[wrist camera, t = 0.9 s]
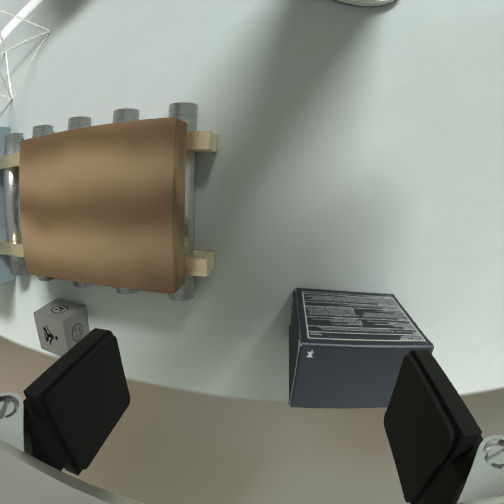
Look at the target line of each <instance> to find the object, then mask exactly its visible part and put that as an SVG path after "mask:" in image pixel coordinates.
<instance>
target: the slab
mask: <svg viewBox="0 0 504 504" xmlns="http://www.w3.org/2000/svg"><path fill="white" fill-rule="evenodd" d="M187 126H188V123H186V122H184V121H182V120H180V119H178V118H176V117H171V118H157V119H146V120H136V121H127V122H119V123H111V124H104V125H97V126H91V127H85V128H79V129H73V130H68V131H63V132H58V133H53V134H48V135H44V136H39V137H35V138H31V139H27V140H23V141H20V161H19V198H20V219H21V232H22V243H23V252H24V260H25V267H26V273H29V274H35V275H41V276H47V277H53V278H59V279H65V280H71V281H78V282H84V283H91V284H98V285H105V286H112V287H120V288H127V289H135V290H143V291H151V292H160V293H169V294H175V293H176V292H177V291H178V290H179V289H180V287H181V286H182V285H183V284H184V283H185V173H186V146H187Z"/></svg>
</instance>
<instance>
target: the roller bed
mask: <svg viewBox="0 0 504 504" xmlns="http://www.w3.org/2000/svg"><path fill="white" fill-rule="evenodd" d="M197 110H198V105H196V104H193V103H173V104H170V105H169V118H171V117H176V118H178V119H180V120H182V121H184V122H186V123H188V126H187V146H186V173H185V283H184V284H183V285H182V286H181V287H180V289H179V290H178V291H177V292H176V293H175V294H169V293H168V297H169V298H170V299H172V300H176V301H185V300H189V299H192V298H193V297H194V276H204V277H207V276H208V275H209V273H210V272H211V271H212V270H213V268H214V251H204V250H194V177H195V152H217V143H218V135H217V134H215V133H213V132H212V131H196V128H197ZM136 120H139V110H137V109H118V110H115V111H114V113H113V123H119V122H127V121H136ZM85 127H91V118H90V117H72V118H69V119H68V130H73V129H79V128H85ZM52 132H53V126H52V125H39V126H35V127H33V133H32V138H35V137H39V136H44V135H48V134H52ZM22 137H23V134H22V133H12V134H7V135H5V144H4V156H1V157H0V170H3V190H4V215H5V229H6V239H4V240H0V254H3V255H8V256H9V263H10V270H11V274H12V275H22V274H25V273H26V267H25V260H24V252H23V243H22V232H21V219H20V198H19V161H20V141H22ZM38 279H39V280H41V281H48V280H52V279H55V278H53V277H47V276H41V275H38ZM72 282H73V285H74V286H76V287H86V286H90V285H92V284H91V283H84V282H78V281H72ZM115 288H116V292H118V293H121V294H131V293H135V292H137V291H139V290H135V289H127V288H120V287H115Z"/></svg>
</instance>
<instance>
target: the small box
mask: <svg viewBox="0 0 504 504" xmlns="http://www.w3.org/2000/svg"><path fill="white" fill-rule="evenodd" d="M293 299H294V301H293V307H292V317H291V325H290V327H289V328H290V329H289V406H290V407H303V408H377V407H388V405H389V402H390V399H391V396H392V393H393V390H394V387H395V384H396V381H397V378H398V374H399V371H400V368H401V364H402V361H403V358H404V356H405V355H408V354H409V352H410V351H411V350H420V349H428V350H429V351H430V353H431V354H432V352H433V349H434V345H433V344H432V343H431V342H430V341H429V340H428V339H427V337H426V336H425V335H424V334H423V333H422V331H421V330H420V329H419V328H418V326H417V325H416V323H415V322H414V321H413V320H412V318H411V317H410V316H409V314H408V313H407V312H406V310H404V308H403V307H402V305H401V304H400V303H399V302H398V300H397V299H396V298H395V296H394V295H393V294H377V293H364V292H363V293H360V292H346V291H332V290H318V289H303V288H296V289H295V290H294V291H293Z"/></svg>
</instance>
